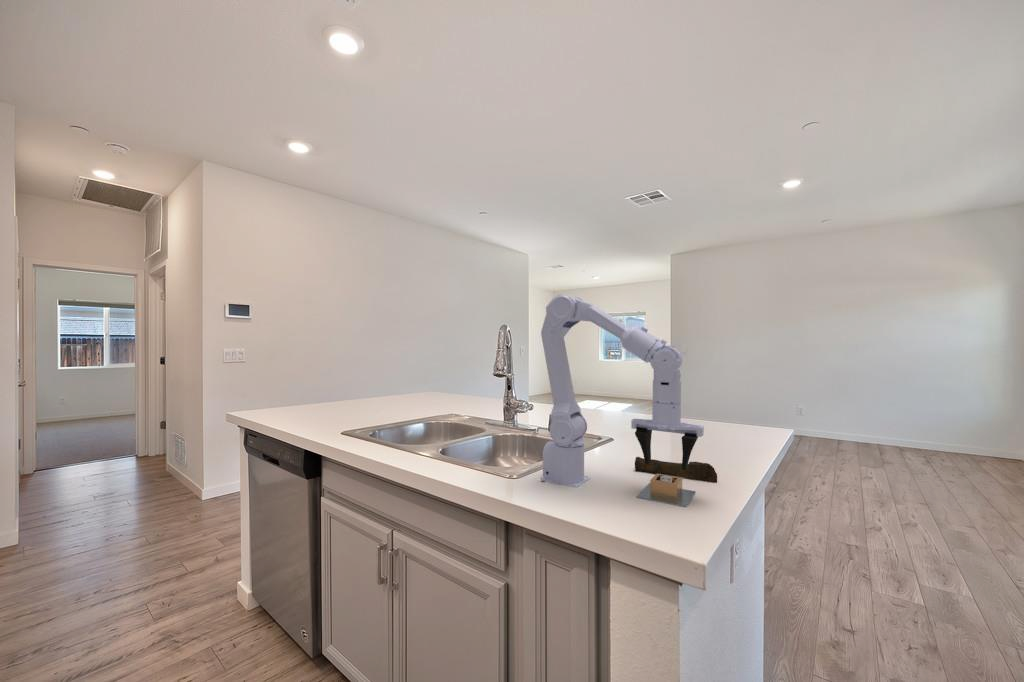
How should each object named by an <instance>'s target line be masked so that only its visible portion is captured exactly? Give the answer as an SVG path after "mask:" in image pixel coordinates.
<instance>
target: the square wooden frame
mask: <svg viewBox="0 0 1024 682" xmlns="http://www.w3.org/2000/svg"><path fill="white" fill-rule="evenodd" d="M661 476H670V475H663V474H657V473H655V475H654V476H653V477H652V478H651V479H650V480H649V483H650V495H652V496H657V497H662V498H668V499H673V500H677V499H678V498H679V497H680V495H681V494H682V489H683V477H678V476H670V477H672V483H671V482H665V481H660V477H661Z"/></svg>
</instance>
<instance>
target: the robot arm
mask: <svg viewBox="0 0 1024 682" xmlns="http://www.w3.org/2000/svg"><path fill="white" fill-rule="evenodd" d="M545 310H546V311H545V312H546V314H545V317H544V320H543V323H542V326H541V327H542V328H541V332H540V336H541V341H542V346H543V351H544V352H543V353H544V357H545V363H546V368H547V375H548V381H549V385H550V392H551V396H552V403H553V406H552V408H551V409H552V410H551V412H550V420H551V424H550V426H549V434H550V435H549V436H550V438H551V440H552V441H551V440H549V441H547V442H546V443H545V445H544V447H543V451H542V478H541V479H540V480H541V481H542V482H547V483H553V484H557V485H562V486H563V485H564V486H569V487H573V488H579V487H580V486H582V485H583V484H585V483H587V481H589V480H590V479H591V476H589V475H588V476H587V475H585V440H584V435H585V434H586V432H587V430H588V423H587V419H586V418H585V417H584V416H583V414H582V410H581V407H580V405H579V404H578V403H577V401H576V396H575V391H574V390H575V389H574V385H573V381H572V375H571V369H570V364H569V359H568V354H567V347H566V343H565V342H566V341H565V336H566V335H567V334H568V333H569V331H570V330H571V329H572V328H573V327H574V326H575V325H577V324H579V323H581V321H582V322H589V323H590V322H591V323H593V324H594V325H596V326H598V327H599V328H601V329H603V330H604V331H606V332H607V333H610V334H611V335H612V336H614V337H616V338H618V339H619V340H620V343H621V346H622V348H623V349H625V350H626V351H627V352H629V353H631V354H632V355H634V356H635V357H637V358H639V359H640V360H642V361H643V362H644V363H646V364H647V363H650V366H651V368H652V369H653V380H652V408H651V409H652V412H651V413H652V416H651V417H652V418H651V419H643V418H633V419H631V429H633V430H635V432H634V434H635V435H634V436H635V437H636V439H637V441H638V444H639V445H640V448H641V452H642V455H643V459H644V460H645V464H649V463H650V462H651V459H652V450H651V449H652V448H651V445H652V433H653V431H657V432H663V433H671V434H672V433H674V434H680V435H681V434H682V435H683V436H681V449H682V461H681V463H682V470H686V469H687V468H688V464H689V462H690V457H691V453H692V452H693V449H694V446H695V444H696V443H697V440H698V438H699V437H700V438H702V437H703V436H704V430H705V429H704V425H700V424H699V425H697V424H692V423H686V422H681V417H682V416H681V414H682V413H681V411H682V410H681V408H682V407H681V405H682V404H681V401H682V381H681V376H682V375H681V369H680V368H681V366H682V365H683V356H682V353H681V352H680V351H679V350H678V349H677V348H676V346H673V345H666V344H668V341H667V340H665V339H664V338H662V339H660V338H658V337H656V336H654V335H653V334H651V333H650V332H648V331H649V329H648V328H647V327H645V326H643V325H642V326H641V327H640V326H638V325H634V326H631V327H630V326H629V327H628V326H627V325H626V324H624V323H623V322H621V321H619V320H618V319H616V317H613V316H612V315H610V314H609V313H607V312H606V311H604V310H603V309H601V308H600V307H599V306H598V305H594V304H593V303H591V302H589V301H585V300H584V299H582V298H580V297H576V296H571V295H569V294H566V293H560V294H557V295H556V296H554V297H553V298H552V299H551V300H550V301H549V303H548V304H547V305H546V307H545ZM541 481H540V482H541Z"/></svg>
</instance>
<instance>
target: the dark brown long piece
mask: <svg viewBox="0 0 1024 682" xmlns="http://www.w3.org/2000/svg"><path fill="white" fill-rule="evenodd" d="M634 470H635V472H641V473H649V474H650V473H651V474H663V475H669V476H675V477H681V478H684V479H688V480H693V481H699V482H705V483H710V484H711V483H713V484H716V483H717V482H718V474H717V472H716V470H715V468H714V466H713V465H711V464H710V463H707V462H700V461H688V468H687V469H686V470H682V462H680V463H679V462H672V461H663V460H659V459H652V458H651V462H650V463H649V464H645V460H644V457H640V456H636V457H635V460H634Z"/></svg>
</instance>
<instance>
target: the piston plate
mask: <svg viewBox="0 0 1024 682" xmlns="http://www.w3.org/2000/svg"><path fill="white" fill-rule="evenodd" d="M660 481H665V482H671V483H672V477H670V475H669V476H661V477H660ZM695 494H696V490H689V489H684V488H682V494H681V495H680V497H679V498H678V499H677V500H673V499H668V498H662V497H657V496H652V495H650V482H649V483H648V484H647V485H646V486H645V487H643V489H642V490H641V491H640V492H639V493H638V494H637V495H636V496H635V498H637V499H642V500H647V501H652V502H656V503H662V504H667V505H673V506H678V507H682V508H687V507H688V506H689V505H690V502H691V501H692V499H693V498H694V496H695Z"/></svg>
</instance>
